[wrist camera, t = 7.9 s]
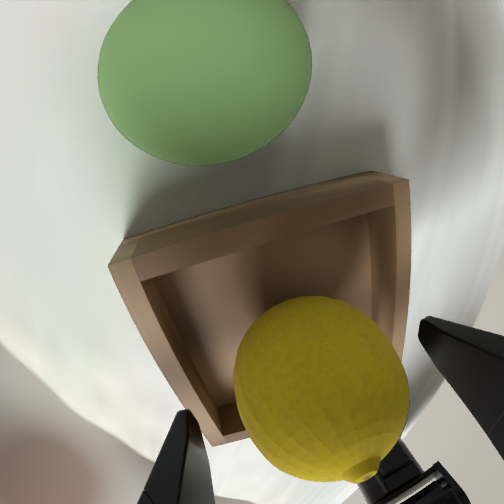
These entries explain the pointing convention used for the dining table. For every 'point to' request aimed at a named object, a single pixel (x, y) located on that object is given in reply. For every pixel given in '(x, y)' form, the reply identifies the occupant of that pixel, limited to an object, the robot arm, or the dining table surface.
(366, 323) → the lemon
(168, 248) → the walnut tray
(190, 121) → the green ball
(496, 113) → the dining table surface
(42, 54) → the dining table surface
